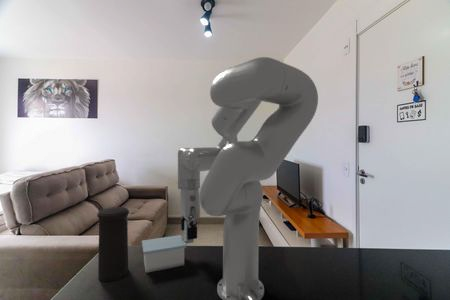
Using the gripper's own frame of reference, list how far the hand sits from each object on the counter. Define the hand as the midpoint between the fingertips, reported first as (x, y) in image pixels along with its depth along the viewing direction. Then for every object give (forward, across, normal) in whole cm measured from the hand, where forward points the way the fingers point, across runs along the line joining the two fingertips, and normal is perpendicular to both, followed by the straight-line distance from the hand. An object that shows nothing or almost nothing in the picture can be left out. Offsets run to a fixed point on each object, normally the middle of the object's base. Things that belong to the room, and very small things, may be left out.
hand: (188, 233), depth 81 cm
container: (+9, -1, +24) cm, 25 cm away
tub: (+9, 0, +8) cm, 12 cm away
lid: (+4, 0, +7) cm, 8 cm away
